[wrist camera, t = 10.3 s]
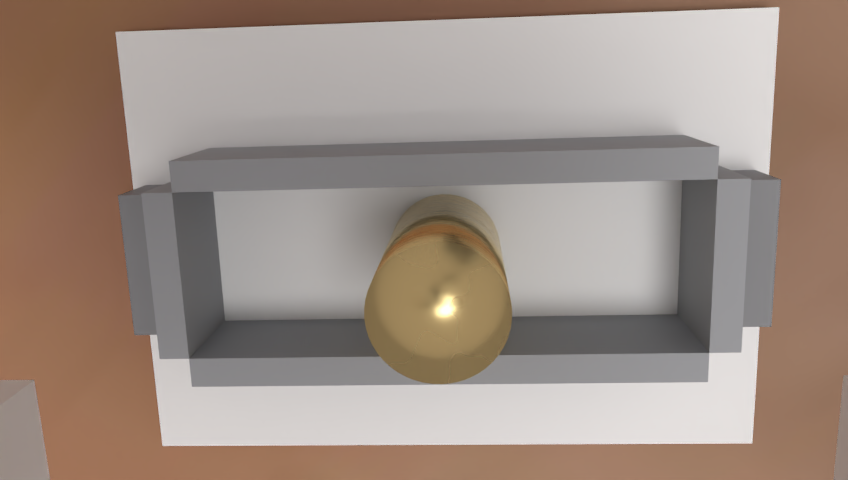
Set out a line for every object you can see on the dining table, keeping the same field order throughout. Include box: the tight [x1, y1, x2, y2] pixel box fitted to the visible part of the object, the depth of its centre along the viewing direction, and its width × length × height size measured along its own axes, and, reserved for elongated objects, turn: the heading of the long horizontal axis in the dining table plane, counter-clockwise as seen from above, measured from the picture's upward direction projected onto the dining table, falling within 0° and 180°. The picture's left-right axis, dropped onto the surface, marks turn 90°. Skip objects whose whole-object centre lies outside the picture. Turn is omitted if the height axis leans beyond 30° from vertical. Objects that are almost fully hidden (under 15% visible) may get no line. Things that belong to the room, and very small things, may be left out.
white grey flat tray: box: [116, 7, 781, 446], centre depth 28 cm, size 16×23×5 cm
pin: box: [364, 194, 512, 384], centre depth 25 cm, size 4×4×8 cm
